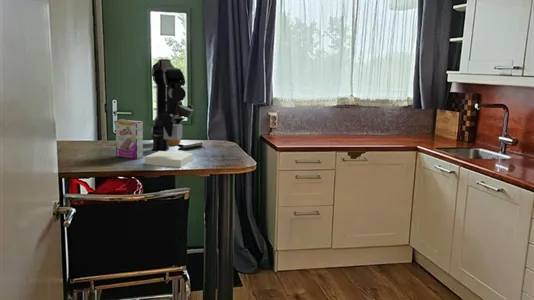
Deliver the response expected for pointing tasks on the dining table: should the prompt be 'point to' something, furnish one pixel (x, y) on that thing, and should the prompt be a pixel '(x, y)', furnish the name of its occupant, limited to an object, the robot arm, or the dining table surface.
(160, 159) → the base block
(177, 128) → the grey cube
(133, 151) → the candy bar box
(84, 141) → the dining table surface
